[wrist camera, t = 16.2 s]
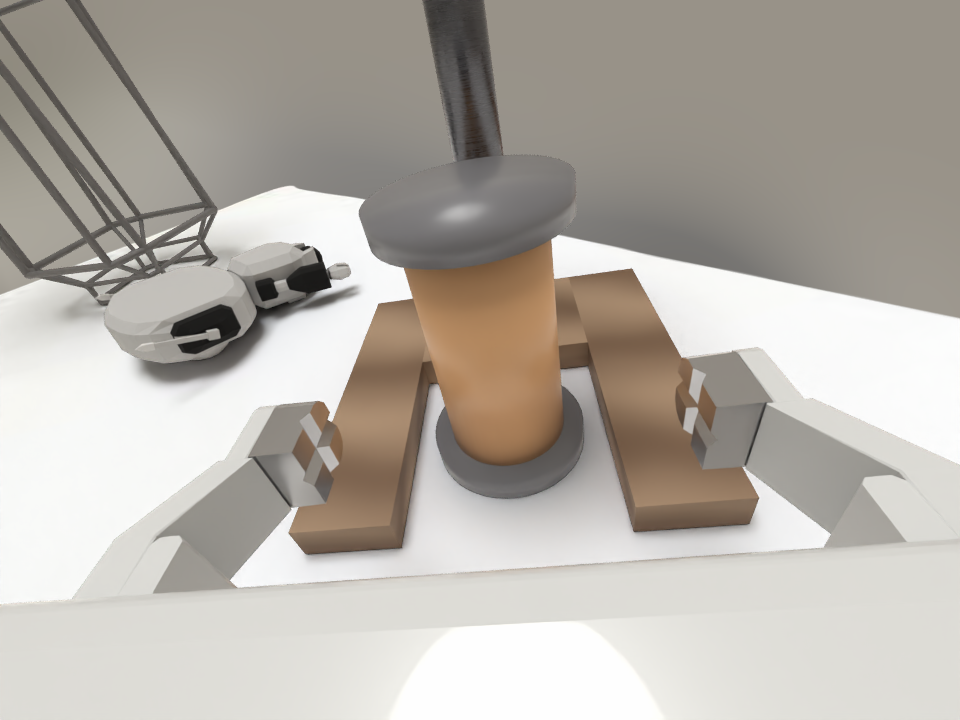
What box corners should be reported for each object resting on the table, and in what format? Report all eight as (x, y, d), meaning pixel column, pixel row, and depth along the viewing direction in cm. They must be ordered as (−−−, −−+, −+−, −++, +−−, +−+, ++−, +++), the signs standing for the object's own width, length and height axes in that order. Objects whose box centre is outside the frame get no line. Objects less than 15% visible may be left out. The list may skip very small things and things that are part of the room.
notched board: (749, 523, 15) (759, 497, 14) (305, 554, 17) (288, 533, 16) (630, 290, 27) (632, 268, 26) (385, 322, 29) (378, 303, 28)
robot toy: (297, 271, 41) (117, 344, 33) (279, 224, 39) (79, 291, 31) (371, 302, 34) (163, 407, 26) (355, 247, 31) (118, 343, 23)
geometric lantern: (171, 319, 35) (-512, -579, 14) (28, 334, 39) (-693, -364, 18) (268, 237, 47) (-21, -317, 26) (152, 254, 51) (-188, -221, 29)
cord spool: (565, 515, 16) (541, 231, 9) (416, 479, 19) (313, 233, 12) (595, 397, 21) (594, 148, 14) (472, 381, 23) (420, 161, 16)
